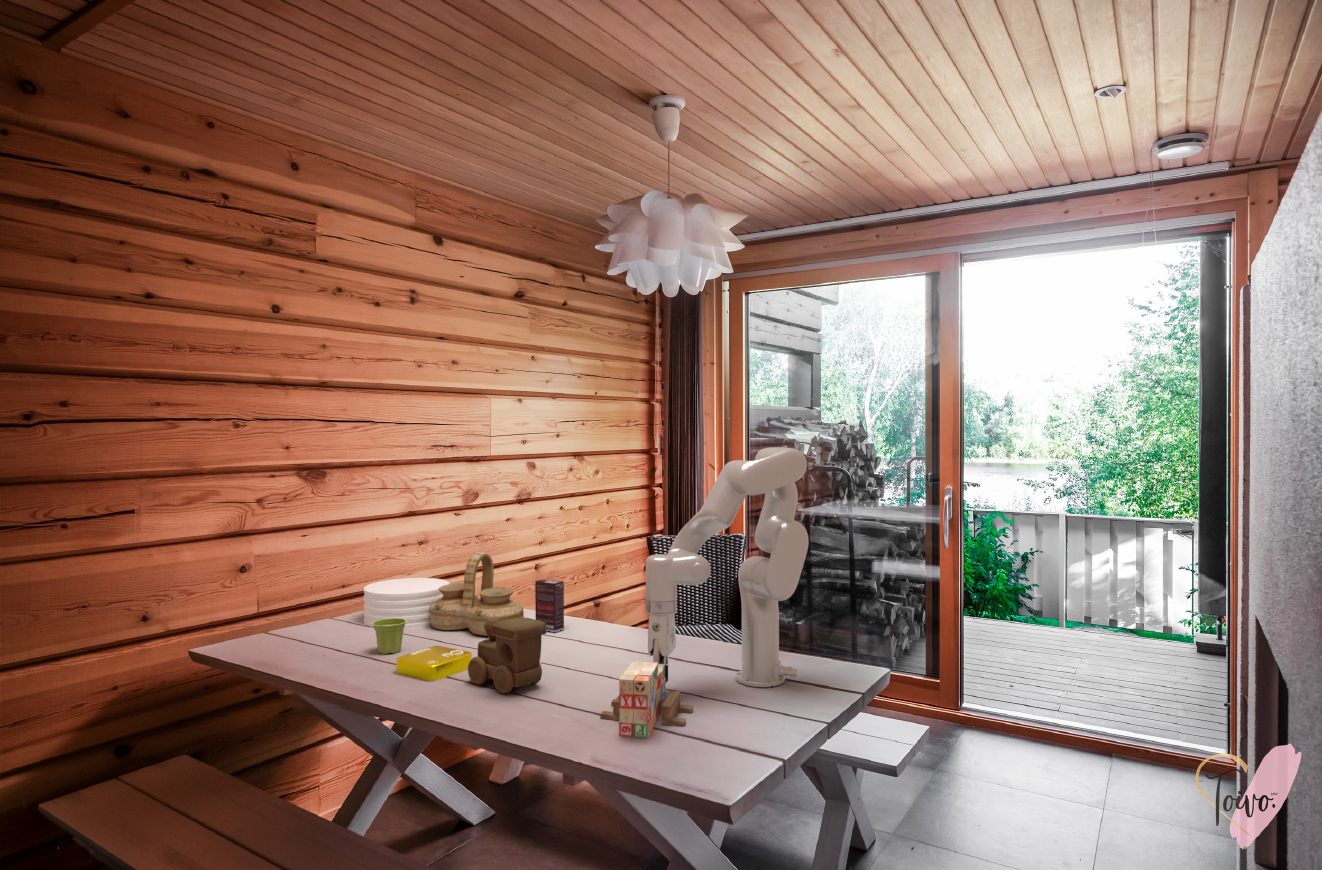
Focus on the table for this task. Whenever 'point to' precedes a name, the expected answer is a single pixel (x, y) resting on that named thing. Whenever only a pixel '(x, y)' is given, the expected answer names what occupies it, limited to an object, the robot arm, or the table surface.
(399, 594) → the plate stack
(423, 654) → the element tile
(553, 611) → the supplement box
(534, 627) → the wooden toy train
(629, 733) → the stack of blocks
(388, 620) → the plant pot
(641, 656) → the table surface
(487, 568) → the ceramic vessel
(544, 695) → the table surface
